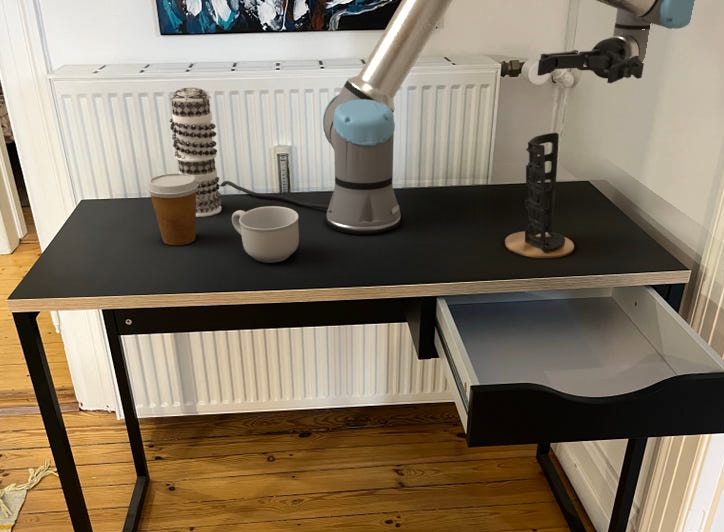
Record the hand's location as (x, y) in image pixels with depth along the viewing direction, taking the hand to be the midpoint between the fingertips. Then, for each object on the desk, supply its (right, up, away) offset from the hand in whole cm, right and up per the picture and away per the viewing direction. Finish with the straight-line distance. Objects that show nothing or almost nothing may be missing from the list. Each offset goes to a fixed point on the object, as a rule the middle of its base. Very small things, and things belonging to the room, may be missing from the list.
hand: (574, 71), depth 141 cm
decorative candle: (-74, -21, +24) cm, 80 cm away
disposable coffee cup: (-75, -30, +9) cm, 81 cm away
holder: (-5, -31, +6) cm, 32 cm away
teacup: (-57, -34, +2) cm, 67 cm away
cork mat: (-5, -31, +6) cm, 32 cm away
